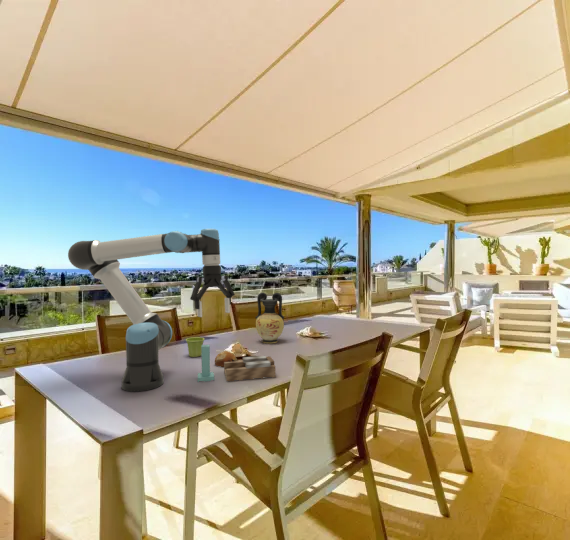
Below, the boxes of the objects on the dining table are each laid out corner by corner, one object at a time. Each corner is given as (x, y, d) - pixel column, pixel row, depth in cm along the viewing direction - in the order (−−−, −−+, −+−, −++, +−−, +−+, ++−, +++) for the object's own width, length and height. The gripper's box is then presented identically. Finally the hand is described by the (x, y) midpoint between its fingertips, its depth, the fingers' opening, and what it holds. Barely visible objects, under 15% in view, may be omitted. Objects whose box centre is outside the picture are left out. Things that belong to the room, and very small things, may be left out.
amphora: (283, 338, 220) (283, 291, 220) (285, 344, 203) (285, 293, 203) (255, 339, 219) (255, 291, 219) (255, 345, 202) (254, 293, 202)
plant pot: (207, 353, 184) (206, 337, 184) (201, 358, 174) (200, 341, 174) (190, 353, 185) (189, 337, 185) (183, 358, 175) (182, 340, 175)
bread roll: (228, 368, 170) (222, 352, 171) (243, 362, 165) (237, 346, 167) (214, 373, 161) (208, 357, 163) (229, 367, 156) (223, 350, 158)
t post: (197, 381, 139) (197, 348, 139) (197, 377, 145) (197, 344, 145) (214, 380, 141) (213, 347, 140) (213, 375, 147) (213, 343, 147)
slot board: (226, 381, 139) (226, 366, 139) (224, 372, 151) (224, 358, 151) (275, 377, 144) (275, 362, 144) (269, 368, 156) (269, 355, 156)
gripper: (188, 266, 138) (191, 319, 138) (240, 263, 154) (243, 311, 155) (180, 266, 143) (183, 317, 143) (231, 264, 160) (233, 310, 160)
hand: (214, 314), depth 149 cm, fingers open, 13 cm apart
